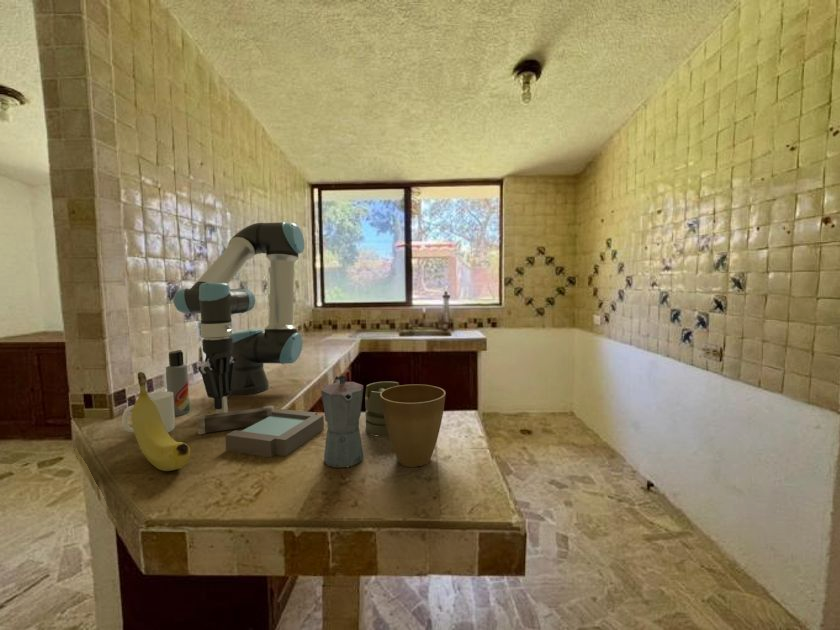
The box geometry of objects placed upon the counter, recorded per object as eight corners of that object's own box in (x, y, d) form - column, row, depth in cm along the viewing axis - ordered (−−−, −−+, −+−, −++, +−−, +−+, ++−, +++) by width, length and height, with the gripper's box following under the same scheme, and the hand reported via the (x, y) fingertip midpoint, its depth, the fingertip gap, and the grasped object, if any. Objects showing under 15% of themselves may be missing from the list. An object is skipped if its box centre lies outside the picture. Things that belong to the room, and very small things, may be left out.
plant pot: (437, 443, 94) (437, 382, 93) (452, 473, 79) (452, 400, 78) (379, 448, 91) (378, 385, 90) (383, 479, 77) (382, 404, 76)
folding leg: (274, 419, 111) (273, 404, 110) (274, 423, 108) (274, 408, 107) (199, 430, 103) (199, 414, 102) (198, 434, 100) (197, 418, 99)
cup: (181, 429, 104) (179, 394, 103) (130, 445, 94) (128, 406, 93) (166, 423, 108) (164, 389, 107) (116, 438, 98) (113, 401, 97)
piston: (398, 380, 111) (411, 389, 100) (398, 419, 112) (411, 432, 101) (361, 383, 107) (370, 394, 96) (361, 424, 108) (371, 439, 97)
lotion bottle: (193, 411, 118) (189, 350, 117) (173, 417, 113) (170, 353, 112) (184, 408, 121) (181, 348, 120) (165, 413, 116) (161, 351, 115)
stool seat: (278, 421, 109) (278, 408, 109) (326, 427, 105) (326, 413, 105) (226, 450, 90) (225, 434, 90) (282, 459, 86) (281, 442, 86)
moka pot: (330, 479, 77) (328, 385, 75) (314, 450, 91) (312, 369, 89) (373, 468, 81) (372, 379, 80) (352, 442, 95) (351, 365, 93)
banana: (200, 473, 80) (195, 382, 78) (170, 485, 75) (164, 388, 73) (156, 447, 92) (151, 368, 91) (128, 456, 88) (122, 373, 86)
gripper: (212, 341, 97) (217, 428, 99) (244, 334, 109) (248, 411, 112) (187, 341, 98) (193, 426, 100) (222, 334, 111) (226, 410, 113)
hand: (222, 418), depth 106 cm, fingers closed
